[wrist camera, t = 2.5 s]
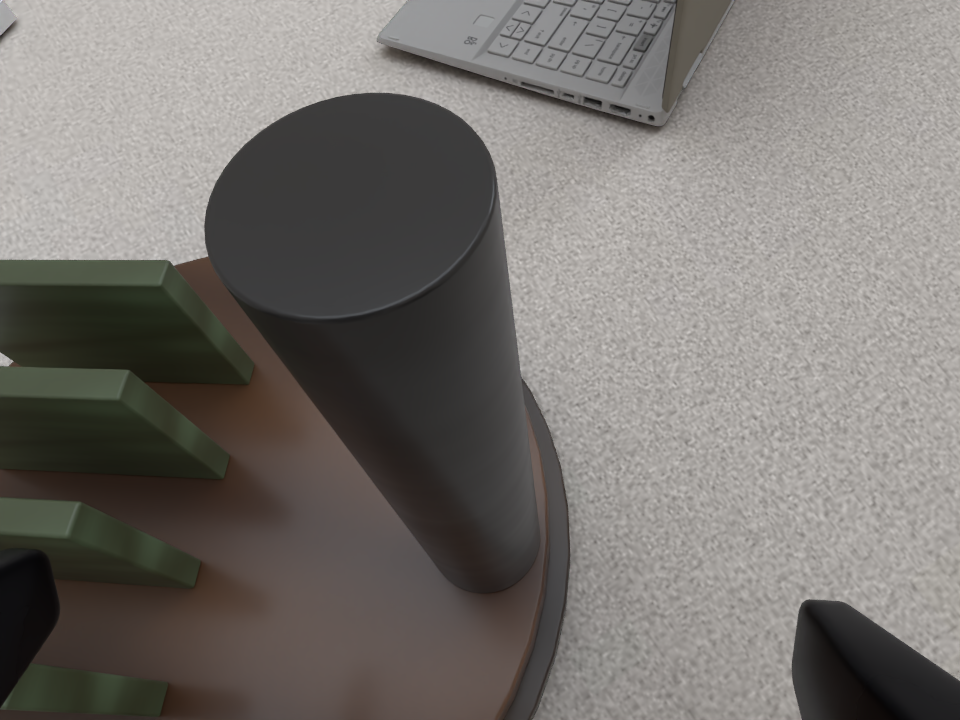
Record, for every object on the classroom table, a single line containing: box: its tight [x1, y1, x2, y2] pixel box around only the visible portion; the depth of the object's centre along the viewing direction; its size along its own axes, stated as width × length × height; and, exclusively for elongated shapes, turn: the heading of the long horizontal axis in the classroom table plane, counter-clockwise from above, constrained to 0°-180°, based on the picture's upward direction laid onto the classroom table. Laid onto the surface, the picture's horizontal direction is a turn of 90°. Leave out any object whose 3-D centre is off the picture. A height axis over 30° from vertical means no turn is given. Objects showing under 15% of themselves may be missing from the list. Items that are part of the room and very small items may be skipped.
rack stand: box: [503, 377, 570, 720], centre depth 19 cm, size 18×18×1 cm
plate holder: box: [0, 93, 550, 720], centre depth 13 cm, size 17×17×13 cm
